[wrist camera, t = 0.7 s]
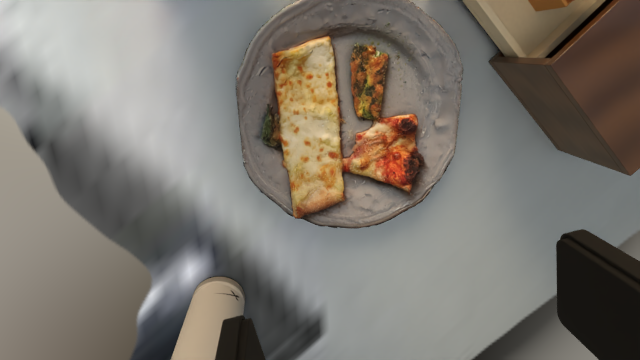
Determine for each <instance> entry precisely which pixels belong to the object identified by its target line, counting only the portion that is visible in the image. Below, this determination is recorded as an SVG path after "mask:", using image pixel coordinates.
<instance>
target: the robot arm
mask: <svg viewBox="0 0 640 360" xmlns="http://www.w3.org/2000/svg"><path fill="white" fill-rule="evenodd" d="M556 251H557V313H558V317H559V319H560V321H561V323H562V324H563V325H564V326H565V327H566V328H567V329H568V330H569V331H570V332H571V333H572V334H573V335H574V336H575V337H576V338H577V339H578V340H579V341H580V342H581V343H582V344H583V345H584V346H585V347H586V348H587V349H588V350H590V351H591V352H592V353H593V354H594V355H595V356H596V357H597V358H598V359H599V360H640V261H638V260H636V259H635V258H633V257H631V256H629V255H628V254H626V253H624V252H623V251H621V250H619V249H617V248H616V247H614V246H612V245H611V244H609V243H607V242H605V241H604V240H602V239H600V238H599V237H597V236H595V235H594V234H592V233H590V232H588V231H586V230H577V231H573V232H569V233H565V234H563V235H562V236H561V238H560V240H559V241H558V242H557V245H556ZM215 360H265V357H264V354H263V351H262V348H261V345H260V342H259V339H258V336H257V333H256V330H255V328H254V325H253V322H252V320H251V319H250V318H249V319H245V317H244V316H243V315H240V316H236V317H232V318H228V319H224V320H223V322H222V327H221V332H220V337H219V341H218V346H217V351H216V356H215Z"/></svg>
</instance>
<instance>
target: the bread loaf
mask: <svg viewBox="0 0 640 360" xmlns="http://www.w3.org/2000/svg"><path fill="white" fill-rule="evenodd" d="M528 1H529V2H530V4H531V5H532V7H533V8H534V10H535V11H543V10H550V9H556V8H563V7H567V6H568V5H569V4H570V3H571V2H572V1H574V0H528Z"/></svg>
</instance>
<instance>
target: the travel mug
mask: <svg viewBox="0 0 640 360" xmlns="http://www.w3.org/2000/svg"><path fill="white" fill-rule="evenodd" d="M244 304H245V294H244V291H243V289H242V287H241V286H240V285H239V284H238V283H237V282H235V281H234V280H232V279H230V278H226V277H212V278H209V279H206V280H204V281H203V282H201V283H200V284H199V285H198V286H197V288H196V290H195V292H194V295H193V298H192V300H191V303H190V306H189V309H188V312H187V315H186V318H185V321H184V323H183V326H182V329H181V332H180V335H179V338H178V341H177V344H176V346H175V349H174V352H173V355H172V358H171V360H215V356H216V351H217V346H218V341H219V337H220V332H221V327H222V322H223V320H224V319H228V318H232V317H236V316H240V315H243V312H244Z"/></svg>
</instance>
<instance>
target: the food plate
mask: <svg viewBox="0 0 640 360" xmlns="http://www.w3.org/2000/svg"><path fill="white" fill-rule="evenodd" d="M237 74H238V75H237V79H236V81H237V82H238V83H237V86H238V87H237V86H236V87H237V88H238V89H237V88H236V96H237V99H238V101H237V105H238V110H239V111H238V115H239V126H240V135H241V140H242V141H241V145H242V154H243V159H245V160H244V161H245V163H244V162H243V163H244V167H245V169H246V171H247V173H248V175H249V178H250V179H251V180H252V182H253V183H254V184H255V185H256V186H257V187H258V189H259V190H260V191H261V192H262V193H264V194H265V195H266V196H267V197H268V198H270V199H271V200H272V201H274V202H275V203H276V204H277V205H278V206H280V207H281V208H282V209H283V210H284V211H285V212H286V213H287V214H289V215H291V216H294V217H295V219H296V218H298V219H300V218H301V219H304V220H306V221H308V222H310V223H313V224H315V225H318V226H328V227H333V228H337V227H339V228H361V227H369V226H372V225H378V224H381V223H384V222H386V221H388V220H391V219H392V218H394V217H396V216H398V215H399V214H401V213H402V212H405V211H407V210H408V209H409V208H412V207H414V206H416V205H417V204H418V203H420V202H422V201H423V200H424V198H425V197H426V196H427V195H428V194H429V192H430V190H431V189H432V188H433V186H434V185H435V184H436V183H437V182H438V181H439V180H440V178H441V177H442V175H443V174H444V172H445V171H446V169H447V167H448V165H449V164H450V161H451V160H452V158H453V156H454V153H455V147H456V146H455V144H456V138H457V130H458V118H459V111H460V107H459V105H460V100H461V87H462V84H460V82H461V80H462V76H461V75H462V74H463V67H462V63H461V60H460V56H459V52H458V50H457V48H456V46H455V44H454V42H453V41H452V39H451V38H450V36H449V35H448V34H447V33H446V32H445V31H444V30H443V28H442V26H441V25H439V24H438V23H437V22H436V21H434V19H432V18H431V17H429V16H428V15H427V14H425V13H424V11H423V10H421V9H420V8H419V7H417V6H415V4H414V3H413V2H410V1H408V0H297V1H296V2H295V3H294V4H290V5H288V6H287V7H285V8H284V9H282V10H281V11H279V12H278V13H277V14H276V15H274V16H272V17H271V19H270V20H269V21H267V22H266V23H265V24H264V25H263V27H262V28H261V29H259V31H258V32H257V34H256V35H255V36H254V38H253V40H252V41H251V43H249V47H248V48H247V50H246V52H245V56H244V59H243V61H242V64H241V66H240V68H239V70H238V72H237ZM235 76H236V75H235Z"/></svg>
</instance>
